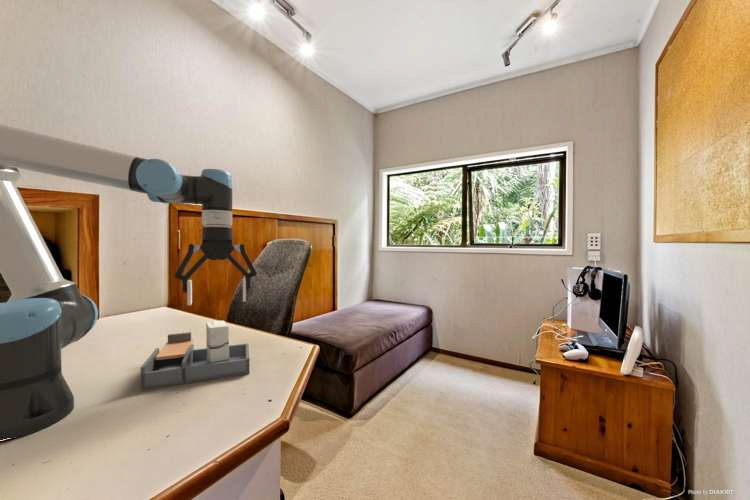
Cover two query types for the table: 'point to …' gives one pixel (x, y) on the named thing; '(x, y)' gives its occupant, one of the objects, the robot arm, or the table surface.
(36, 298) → the robot arm
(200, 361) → the tray
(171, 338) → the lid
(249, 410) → the table surface
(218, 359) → the ink box
